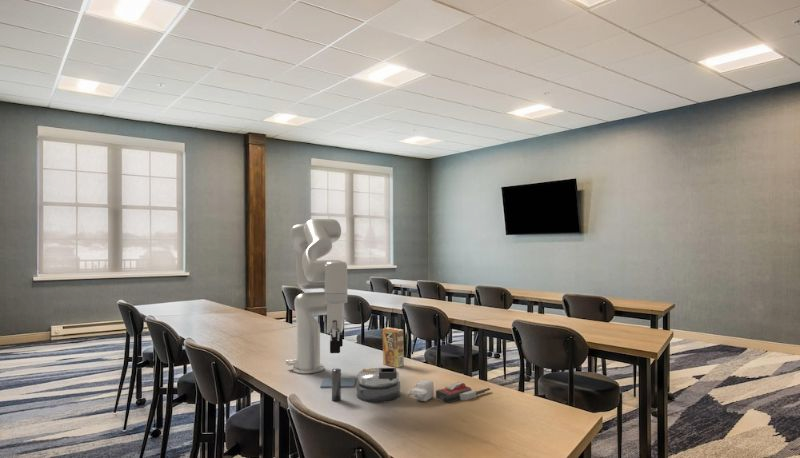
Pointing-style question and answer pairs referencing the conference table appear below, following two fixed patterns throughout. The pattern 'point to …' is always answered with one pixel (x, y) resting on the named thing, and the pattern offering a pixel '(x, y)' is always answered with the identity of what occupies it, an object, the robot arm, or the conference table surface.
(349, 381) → the key mat
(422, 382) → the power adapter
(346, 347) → the conference table surface
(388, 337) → the candy box
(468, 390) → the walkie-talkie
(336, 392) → the chuck key
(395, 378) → the collar
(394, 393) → the base
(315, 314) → the robot arm
